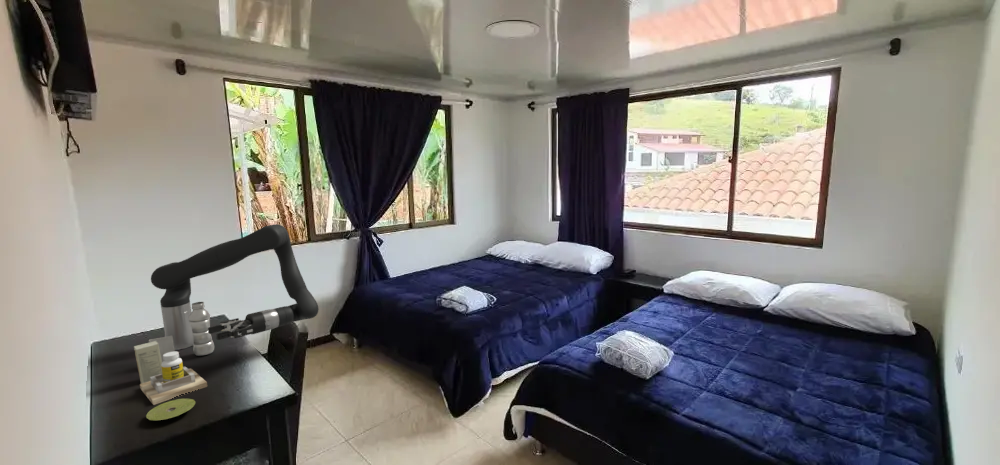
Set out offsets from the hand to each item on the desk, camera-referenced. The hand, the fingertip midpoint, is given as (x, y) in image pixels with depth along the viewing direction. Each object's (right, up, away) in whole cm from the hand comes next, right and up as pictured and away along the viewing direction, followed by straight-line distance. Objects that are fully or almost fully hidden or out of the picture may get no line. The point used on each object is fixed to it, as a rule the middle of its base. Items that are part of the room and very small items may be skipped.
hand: (212, 333), depth 150 cm
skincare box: (-18, -15, -3) cm, 24 cm away
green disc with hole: (+5, -17, -25) cm, 31 cm away
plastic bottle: (-13, -12, +16) cm, 24 cm away
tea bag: (-23, -13, +8) cm, 28 cm away
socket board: (-6, -15, -9) cm, 19 cm away
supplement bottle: (-6, -14, -9) cm, 18 cm away
